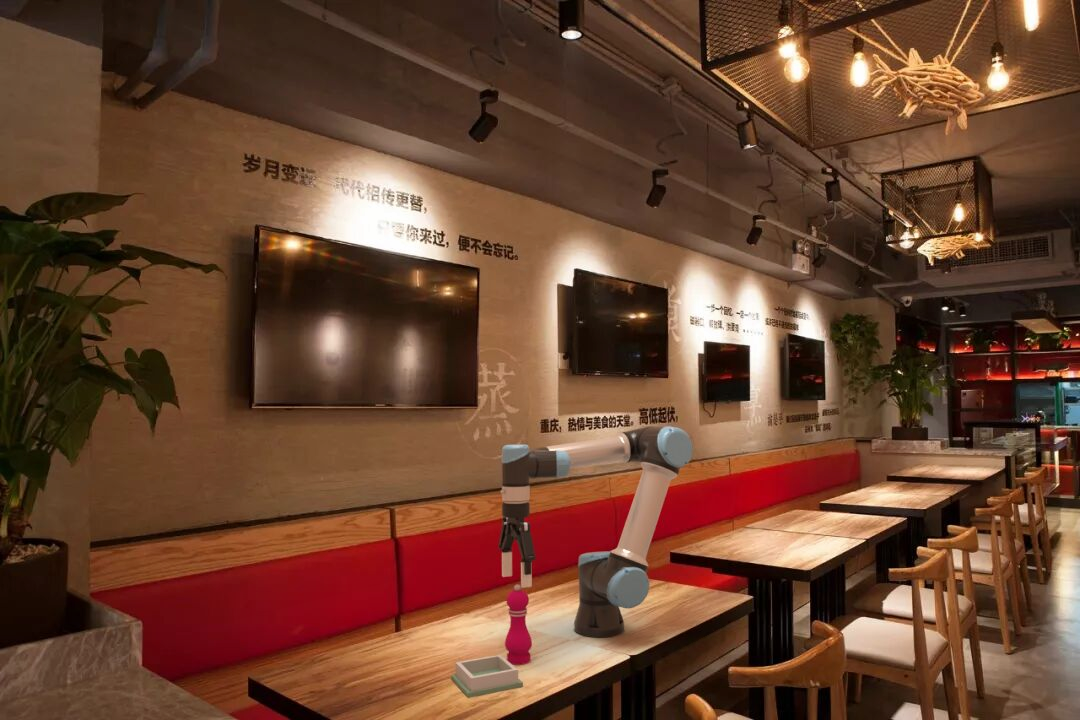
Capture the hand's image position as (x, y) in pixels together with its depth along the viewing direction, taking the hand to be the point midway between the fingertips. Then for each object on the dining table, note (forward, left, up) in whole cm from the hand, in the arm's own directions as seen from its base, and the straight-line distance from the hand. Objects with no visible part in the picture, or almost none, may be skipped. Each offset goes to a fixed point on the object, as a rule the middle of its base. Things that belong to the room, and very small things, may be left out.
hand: (516, 581), depth 188 cm
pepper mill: (0, 0, -21) cm, 21 cm away
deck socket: (+13, +11, -21) cm, 27 cm away
